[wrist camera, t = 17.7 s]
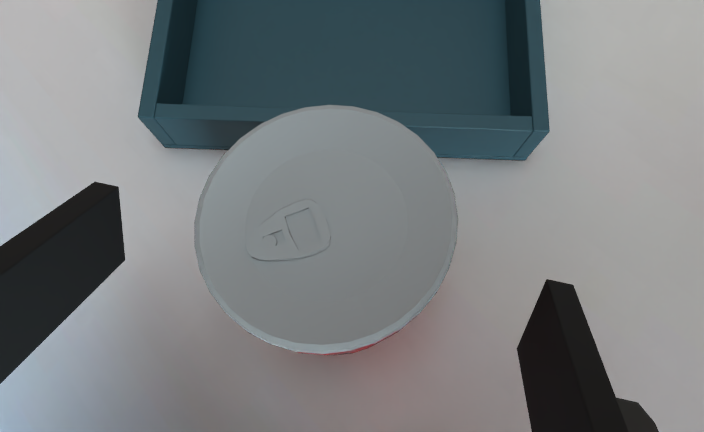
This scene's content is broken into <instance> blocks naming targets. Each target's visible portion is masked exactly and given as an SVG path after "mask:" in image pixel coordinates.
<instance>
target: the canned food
mask: <svg viewBox="0 0 704 432" xmlns="http://www.w3.org/2000/svg"><path fill="white" fill-rule="evenodd" d="M457 224H458V215H457V208H456V201H455V195H454V191H453V189H452V186H451V183H450V181H449V178H448V175H447V173H446V171H445V169H444V168H443V166H442V164H441V163H440V161H439V160H438V158H437V157H436V155H435V153H434V152H433V151H432V150H431V149H430V148H429V147H428V146H427V145H426V144H425V143H424V141H423V140H422V139H421V138H420V137H419V136H418V135H416V134H415V133H414V132H412V131H411V130H409V129H408V128H406V127H405V126H404V125H402V124H401V123H399V122H397V121H395V120H393V119H391V118H389V117H386V116H384V115H382V114H380V113H378V112H374V111H370V110H366V109H362V108H358V107H354V106H340V105H323V106H313V107H305V108H301V109H298V110H294V111H291V112H287V113H283V114H281V115H279V116H277V117H275V118H272V119H270V120H268V121H266V122H264V123H262V124H260V125H258V126H257V127H256V128H254V129H253V130H251V131H250V132H248V133H247V134H246V135H244V136H243V137H241V138H240V139H239V140H238V141H237V142H236V143H235V144H234V145H233V146H232V147H231V148H230V149H229V150H228V151H227V152H226V153H225V154H224V155H223V156H222V158H221V159H220V161H219V162H218V164H217V165H216V167H215V168H214V170H213V171H212V173H211V174H210V175H209V178H208V180H207V182H206V184H205V187H204V189H203V191H202V194H201V196H200V199H199V203H198V208H197V213H196V218H195V250H196V255H197V260H198V264H199V269H200V272H201V274H202V276H203V278H204V280H205V282H206V285H207V287H208V289H209V291H210V293H211V294H212V296H213V297H214V298H215V300H216V301H217V302H218V303H219V305H220V306H221V307H222V309H223V310H224V311H225V313H227V315H228V316H229V317H230V318H232V319H233V320H234V321H235V322H236V323H238V324H239V325H240V326H241V327H242V328H243V329H245V330H246V331H247V332H248V333H250V334H252V335H254V336H256V337H258V338H260V339H261V340H263V341H265V342H267V343H269V344H271V345H274V346H278V347H281V348H285V349H288V350H291V351H295V352H298V353H306V354H318V355H340V354H349V353H354V352H357V351H360V350H363V349H366V348H369V347H371V346H373V345H375V344H377V343H378V342H380V341H382V340H384V339H386V338H387V337H389V336H391V335H393V334H395V333H397V332H398V331H399V330H400V329H402V328H403V327H404V326H405V325H406V324H408V323H409V322H410V321H411V320H412V319H414V318H415V317H416V316H417V315H418V314H419V313H420V312H421V311H422V310H423V309H424V307H425V306H426V305H427V304H428V302H429V301H430V300H431V299H432V297H433V296H434V295H435V294H436V293H437V291H438V289H439V287H440V285H441V283H442V281H443V279H444V277H445V275H446V273H447V271H448V269H449V266H450V263H451V259H452V256H453V252H454V248H455V245H456V239H457Z"/></svg>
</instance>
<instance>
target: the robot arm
mask: <svg viewBox="0 0 704 432" xmlns="http://www.w3.org/2000/svg"><path fill="white" fill-rule="evenodd" d="M124 261H125V253H124V242H123V231H122V221H121V210H120V199H119V188H118V187H117V186H112V185H107V184H103V183H98V182H94V183H92V184H91V185H89V186H88V187H87V188H85V189H84V190H82V191H81V192H79V193H78V194H76V195H75V196H73V197H72V198H70V199H69V200H67V201H66V202H65V203H63V204H62V205H60V206H59V207H57V208H56V209H54V210H53V211H51V212H50V213H48V214H47V215H46V216H44V217H43V218H41V219H40V220H38V221H37V222H35V223H34V224H32V225H31V226H29V227H28V228H26V229H25V230H24V231H22V232H21V233H19V234H18V235H16V236H15V237H13V238H12V239H10V240H9V241H7V242H6V243H5V244H3V245H2V246H0V384H1V383H2V382H3V381H4V380H5V379H6V378H7V377H8V376H9V375H10V374H11V373H12V372H13V371H14V370H15V369H16V368H17V367H18V366H19V365H20V364H21V363H22V362H23V361H24V360H25V359H26V358H27V357H28V356H29V355H30V354H31V353H32V352H33V351H34V350H35V349H36V348H37V347H38V346H39V345H40V344H41V343H42V342H43V341H44V340H45V339H46V338H47V337H48V336H49V335H50V334H51V333H52V332H53V331H54V330H55V329H56V328H57V327H58V326H59V325H60V324H61V323H62V322H63V321H64V320H65V319H66V318H67V317H68V316H69V315H70V314H71V313H72V312H73V311H74V310H75V309H76V308H77V307H78V306H79V305H80V304H81V303H82V302H83V301H84V300H85V299H86V298H87V297H88V296H89V295H90V294H91V293H92V292H93V291H94V290H95V289H96V288H97V287H98V286H99V285H100V284H101V283H102V282H103V281H104V280H105V279H106V278H107V277H108V276H109V275H110V274H111V273H112V272H113V271H114V270H115V269H116V268H117V267H118V266H119V265H120V264H121V263H122V262H124ZM517 351H518V357H519V363H520V368H521V374H522V379H523V385H524V390H525V396H526V401H527V407H528V413H529V418H530V424H531V429H532V432H659V431H658V429H657V427H656V425H655V423H654V421H653V420H652V419H651V418H650V417H649V415H648V414H647V413H646V412H645V411H644V409H643V408H642V407H641V406H640V405H639V403H637V402H633V401H628V400H624V399H620V398H616V397H615V394H614V392H613V389H612V386H611V384H610V381H609V378H608V376H607V373H606V371H605V368H604V365H603V363H602V360H601V357H600V355H599V352H598V349H597V347H596V344H595V341H594V339H593V336H592V333H591V331H590V328H589V326H588V323H587V320H586V318H585V315H584V312H583V310H582V307H581V304H580V302H579V299H578V296H577V294H576V291H575V289H574V286H573V285H571V284H567V283H562V282H557V281H553V280H548V279H546V282H545V284H544V286H543V289H542V291H541V293H540V296H539V298H538V300H537V303H536V305H535V307H534V310H533V312H532V314H531V317H530V319H529V321H528V324H527V326H526V328H525V331H524V333H523V335H522V338H521V340H520V342H519V345H518V347H517Z"/></svg>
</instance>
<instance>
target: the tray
mask: <svg viewBox="0 0 704 432" xmlns="http://www.w3.org/2000/svg"><path fill="white" fill-rule="evenodd" d="M323 105H340V106H354V107H358V108H362V109H366V110H370V111H374V112H378V113H380V114H382V115H384V116H386V117H389V118H391V119H393V120H395V121H397V122H399V123H401V124H402V125H404V126H405V127H406V128H408V129H409V130H411V131H412V132H414V133H415V134H416V135H418V136H419V137H420V138H421V139H422V140H423V141H424V143H425V144H426V145H427V146H428V147H429V148H430V149H431V150H432V151H433V152H434V153H435V155H436V157H446V158H474V159H502V160H526V159H527V157H528V156H529V155H530V154H531V152H532V151H533V150H534V149H535V148H536V147H537V145H538V144H539V143H540V142H541V141H542V140H543V138H544V137H545V136H546V135H547V134H548V133H549V131H550V130H549V117H548V103H547V89H546V76H545V62H544V49H543V35H542V21H541V8H540V0H158V3H157V8H156V14H155V20H154V26H153V32H152V37H151V43H150V49H149V55H148V60H147V66H146V72H145V78H144V84H143V89H142V95H141V101H140V107H139V112H138V118H139V119H140V120H141V121H142V122H143V123H144V125H145V126H146V127H147V128H148V129H149V130H150V131H151V132H152V133H153V135H154V136H155V137H156V138H157V139H158V140H159V141H160V142H161V144H162V145H163V146H164V147H168V148H196V149H224V150H229V149H230V148H231V147H232V146H233V145H234V144H235V143H236V142H237V141H238V140H239V139H240V138H241V137H243V136H244V135H246V134H247V133H248V132H250V131H251V130H253V129H254V128H256V127H257V126H258V125H260V124H262V123H264V122H266V121H268V120H270V119H272V118H275V117H277V116H279V115H281V114H283V113H287V112H291V111H294V110H298V109H301V108H305V107H313V106H323Z"/></svg>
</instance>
